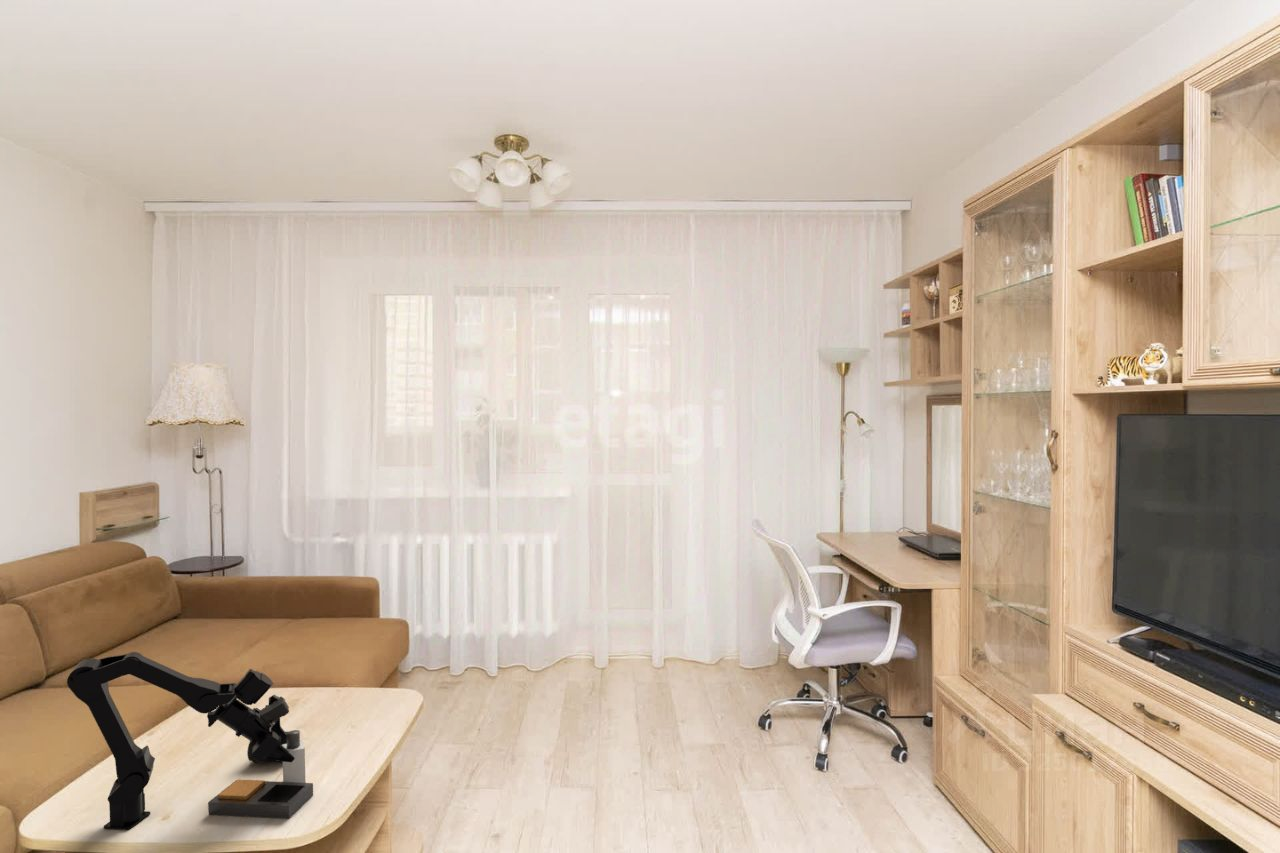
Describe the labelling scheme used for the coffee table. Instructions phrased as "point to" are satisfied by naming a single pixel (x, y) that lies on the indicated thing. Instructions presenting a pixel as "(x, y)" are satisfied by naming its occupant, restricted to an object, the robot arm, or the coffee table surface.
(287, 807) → the two-compartment sponge tray
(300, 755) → the white soap bottle
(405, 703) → the coffee table surface
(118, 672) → the robot arm
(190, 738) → the coffee table surface
